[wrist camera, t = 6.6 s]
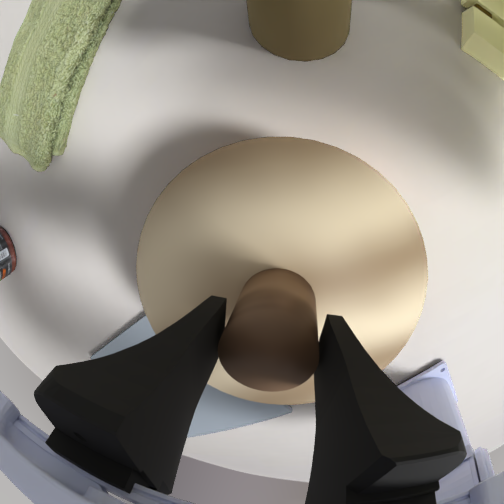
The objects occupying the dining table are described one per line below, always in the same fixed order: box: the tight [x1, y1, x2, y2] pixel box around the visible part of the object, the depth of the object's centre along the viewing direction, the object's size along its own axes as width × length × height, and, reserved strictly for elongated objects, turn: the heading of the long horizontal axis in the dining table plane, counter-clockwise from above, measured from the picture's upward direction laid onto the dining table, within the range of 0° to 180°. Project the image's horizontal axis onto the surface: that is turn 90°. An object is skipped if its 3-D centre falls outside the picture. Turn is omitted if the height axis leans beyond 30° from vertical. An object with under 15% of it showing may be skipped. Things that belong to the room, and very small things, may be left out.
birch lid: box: [136, 137, 428, 405], centre depth 11 cm, size 15×15×5 cm
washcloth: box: [0, 0, 122, 172], centre depth 13 cm, size 13×18×3 cm
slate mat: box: [91, 315, 292, 438], centre depth 25 cm, size 16×16×1 cm
